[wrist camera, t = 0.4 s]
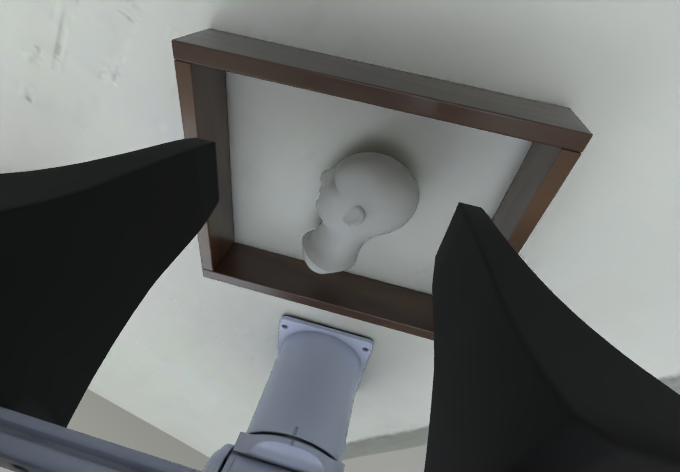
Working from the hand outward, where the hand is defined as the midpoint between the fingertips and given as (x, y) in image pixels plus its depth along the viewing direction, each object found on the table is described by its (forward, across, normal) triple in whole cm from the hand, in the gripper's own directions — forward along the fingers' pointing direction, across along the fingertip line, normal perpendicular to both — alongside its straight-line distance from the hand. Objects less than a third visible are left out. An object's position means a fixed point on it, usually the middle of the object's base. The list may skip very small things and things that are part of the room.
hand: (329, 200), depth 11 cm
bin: (+10, 0, +6) cm, 11 cm away
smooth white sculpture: (+10, 0, +6) cm, 11 cm away
